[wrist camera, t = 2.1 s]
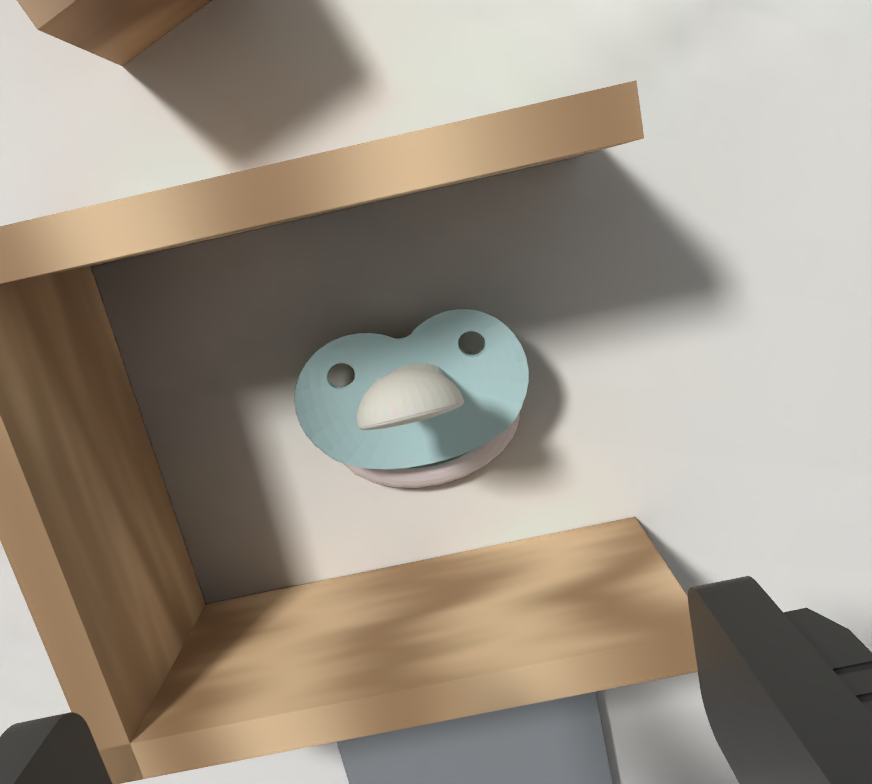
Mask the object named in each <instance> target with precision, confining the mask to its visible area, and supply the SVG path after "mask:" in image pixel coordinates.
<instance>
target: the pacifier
mask: <svg viewBox="0 0 872 784" xmlns="http://www.w3.org/2000/svg"><path fill="white" fill-rule="evenodd" d="M468 331H474V332H477V333H479V334H481V335H482V336H483V338H484V339H485V346H484V349H483V350H482V351H481V352H480V353H478V354H475V355H469V354H466V353H464V352H462V350H461V349H460V348H459V346H458V341H459V338H460V336H461V335H462V334H464V333H465V332H468ZM338 363H346V364H348V365H350V366H351V367H352V368H353V370H354V372H355V378H354V380H353V382H352V383H350V384H349V385H347V386H344V387H337V386H335V385H333V384H332V383H331V382H330V380H329V379H328V372H329V369H330V368H331V367H332V366H334V365H336V364H338ZM528 382H529V369H528V364H527V359H526V356H525V353H524V351H523V348H522V346H521V344H520V342H519V341H518V339H517V338H516V336H515V335H514V333H513V332H512V331H511V330H510V329H509V328H508V327H507V326H506V325H505V324H504V323H503V322H501V321H500V320H498V319H497V318H495V317H494V316H492V315H490V314H487V313H484V312H481V311H477V310H472V309H453V310H449V311H446V312H442V313H439V314H436V315H435V316H433V317H431V318H429V319H427V320H425V321H424V322H423V323H421V324H420V325H419V326H417V327H416V328H415V329H414V330H413V331H412V333H411V334H410V335H409V336H407V337H404V338H400V339H396V338H393V337H389V336H386V335H383V334H376V333H356V334H351V335H347V336H343V337H340V338H338V339H335V340H333V341H331V342H329V343H327V344H326V345H324V346H323V347H321V348H320V349H319V350H318V351H316V352H315V353H314V354H313V356H312V357H311V358H310V359H309V360H308V361H307V363H306V364H305V366H304V368H303V370H302V371H301V373H300V375H299V378H298V381H297V385H296V388H295V408H296V414H297V417H298V420H299V423H300V426H301V427H302V429H303V431H304V432H305V434H306V436H307V437H308V438H309V439H310V440H311V441H312V443H313V444H314V445H315V446H316V447H318V448H319V449H320V450H322V451H323V452H324V453H325V454H326V455H328V456H329V457H331V458H333V459H334V460H336V461H338V462H341V463H343V464H344V465H345V466H347V467H348V468H349V469H350V470H351V471H352V472H353V473H355V474H356V475H358V476H360V477H362V478H364V479H367V480H369V481H371V482H373V483H377V484H382V485H386V486H391V487H406V488H419V487H426V486H433V485H439V484H444V483H447V482H450V481H453V480H456V479H459V478H462V477H465V476H467V475H468V474H470V473H472V472H474V471H476V470H478V469H480V468H482V467H484V466H485V465H486V464H488V463H489V462H490V461H491V460H493V459H494V458H495V457H496V456H498V455H499V454H500V453H501V452H502V451H503V450H504V449H505V447H506V446H507V445H508V443H509V442H510V441H511V439H512V438H513V437H514V434H515V432H516V429H517V426H518V424H519V421H520V410H521V408H522V405H523V401H524V399H525V396H526V393H527V388H528Z"/></svg>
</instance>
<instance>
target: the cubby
mask: <svg viewBox="0 0 872 784" xmlns="http://www.w3.org/2000/svg"><path fill="white" fill-rule="evenodd" d="M643 138H644V135H643V127H642V120H641V112H640V105H639V97H638V90H637V82H636V81H632V82H628V83H623V84H619V85H614V86H610V87H606V88H601V89H597V90H593V91H588V92H584V93H580V94H575V95H571V96H567V97H562V98H558V99H554V100H549V101H545V102H540V103H536V104H532V105H527V106H523V107H519V108H514V109H510V110H506V111H501V112H497V113H493V114H488V115H484V116H480V117H475V118H471V119H466V120H462V121H458V122H453V123H449V124H445V125H440V126H436V127H432V128H427V129H423V130H419V131H414V132H410V133H405V134H401V135H397V136H392V137H388V138H384V139H379V140H375V141H371V142H366V143H362V144H358V145H353V146H349V147H345V148H340V149H336V150H331V151H327V152H323V153H318V154H314V155H310V156H305V157H301V158H297V159H292V160H288V161H284V162H279V163H275V164H271V165H266V166H262V167H257V168H253V169H249V170H244V171H240V172H236V173H231V174H227V175H223V176H218V177H214V178H210V179H205V180H201V181H196V182H192V183H188V184H183V185H179V186H175V187H170V188H166V189H162V190H157V191H153V192H149V193H144V194H140V195H136V196H131V197H127V198H122V199H118V200H114V201H109V202H105V203H101V204H96V205H92V206H88V207H83V208H79V209H75V210H70V211H66V212H62V213H57V214H53V215H48V216H44V217H40V218H35V219H31V220H27V221H22V222H18V223H14V224H9V225H5V226H1V227H0V541H1V543H2V545H3V548H4V550H5V553H6V555H7V557H8V560H9V562H10V565H11V567H12V569H13V572H14V574H15V577H16V579H17V582H18V584H19V586H20V589H21V591H22V594H23V596H24V598H25V601H26V603H27V606H28V608H29V610H30V613H31V615H32V618H33V620H34V623H35V625H36V627H37V630H38V632H39V635H40V637H41V639H42V642H43V644H44V647H45V649H46V652H47V654H48V656H49V659H50V661H51V664H52V666H53V668H54V671H55V673H56V676H57V678H58V680H59V683H60V685H61V688H62V690H63V693H64V695H65V697H66V700H67V702H68V705H69V707H70V709H71V712H73V713H77V714H79V715H80V716H82V717H83V718H84V720H85V721H86V723H87V725H88V727H89V729H90V731H91V734H92V736H93V738H94V741H95V743H96V746H97V748H98V750H99V753H100V755H101V758H102V760H103V762H104V765H105V767H106V770H107V772H108V774H109V777H110V779H111V782H112V784H120V783H126V782H131V781H136V780H141V779H146V778H151V777H157V776H162V775H167V774H172V773H177V772H182V771H188V770H193V769H198V768H203V767H208V766H213V765H218V764H224V763H229V762H234V761H239V760H244V759H249V758H255V757H260V756H265V755H270V754H275V753H280V752H286V751H291V750H296V749H301V748H306V747H311V746H317V745H322V744H327V743H332V742H337V741H342V740H348V739H353V738H358V737H363V736H368V735H373V734H379V733H384V732H389V731H394V730H399V729H404V728H410V727H415V726H420V725H425V724H430V723H435V722H441V721H446V720H451V719H456V718H461V717H466V716H471V715H477V714H482V713H487V712H492V711H497V710H502V709H508V708H513V707H518V706H523V705H528V704H533V703H539V702H544V701H549V700H554V699H559V698H564V697H570V696H575V695H580V694H585V693H590V692H595V691H601V690H606V689H611V688H616V687H621V686H626V685H632V684H637V683H642V682H647V681H652V680H657V679H663V678H668V677H673V676H678V675H683V674H688V673H694V672H698V669H697V662H696V655H695V648H694V641H693V634H692V627H691V620H690V613H689V606H688V596H687V595H686V593H685V592H684V590H683V589H682V587H681V586H680V584H679V583H678V581H677V580H676V578H675V577H674V575H673V574H672V572H671V571H670V569H669V567H668V566H667V564H666V563H665V561H664V560H663V558H662V557H661V555H660V554H659V552H658V551H657V549H656V548H655V546H654V545H653V543H652V542H651V540H650V539H649V537H648V536H647V534H646V533H645V531H644V529H643V528H642V526H641V525H640V523H639V522H638V520H637V519H636V517H632V518H627V519H622V520H617V521H612V522H608V523H603V524H598V525H593V526H588V527H583V528H578V529H573V530H568V531H563V532H558V533H554V534H549V535H544V536H539V537H534V538H529V539H524V540H519V541H514V542H509V543H504V544H500V545H495V546H490V547H485V548H480V549H475V550H470V551H465V552H460V553H455V554H450V555H446V556H441V557H436V558H431V559H426V560H421V561H416V562H411V563H406V564H401V565H396V566H391V567H387V568H382V569H377V570H372V571H367V572H362V573H357V574H352V575H347V576H342V577H337V578H333V579H328V580H323V581H318V582H313V583H308V584H303V585H298V586H293V587H288V588H283V589H279V590H274V591H269V592H264V593H259V594H254V595H249V596H244V597H239V598H234V599H229V600H225V601H220V602H215V603H210V604H205V601H204V598H203V595H202V592H201V589H200V587H199V584H198V581H197V578H196V575H195V572H194V569H193V566H192V563H191V560H190V557H189V554H188V551H187V548H186V545H185V542H184V540H183V537H182V534H181V531H180V528H179V525H178V522H177V519H176V516H175V513H174V510H173V507H172V504H171V501H170V498H169V496H168V493H167V490H166V487H165V484H164V481H163V478H162V475H161V472H160V469H159V466H158V463H157V460H156V457H155V454H154V451H153V449H152V446H151V443H150V440H149V437H148V434H147V431H146V428H145V425H144V422H143V419H142V416H141V413H140V410H139V407H138V404H137V402H136V399H135V396H134V393H133V390H132V387H131V384H130V381H129V378H128V375H127V372H126V369H125V366H124V363H123V360H122V358H121V355H120V352H119V349H118V346H117V343H116V340H115V337H114V334H113V331H112V328H111V325H110V322H109V319H108V316H107V313H106V311H105V308H104V305H103V302H102V299H101V296H100V293H99V290H98V287H97V284H96V281H95V278H94V275H93V272H92V269H91V266H95V265H99V264H103V263H108V262H112V261H117V260H121V259H125V258H130V257H134V256H139V255H143V254H148V253H152V252H156V251H161V250H165V249H170V248H174V247H179V246H183V245H187V244H192V243H196V242H201V241H205V240H210V239H214V238H218V237H223V236H227V235H232V234H236V233H241V232H245V231H249V230H254V229H258V228H263V227H267V226H272V225H276V224H280V223H285V222H289V221H294V220H298V219H303V218H307V217H311V216H316V215H320V214H325V213H329V212H334V211H338V210H342V209H347V208H351V207H356V206H360V205H364V204H369V203H373V202H378V201H382V200H387V199H391V198H395V197H400V196H404V195H409V194H413V193H418V192H422V191H426V190H431V189H435V188H440V187H444V186H449V185H453V184H457V183H462V182H466V181H471V180H475V179H480V178H484V177H488V176H493V175H497V174H502V173H506V172H511V171H515V170H519V169H524V168H528V167H533V166H537V165H542V164H546V163H550V162H555V161H559V160H564V159H568V158H573V157H577V156H581V155H584V154H588V153H592V152H595V151H599V150H603V149H606V148H610V147H614V146H617V145H621V144H624V143H628V142H632V141H635V140H639V139H643Z"/></svg>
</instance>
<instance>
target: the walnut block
mask: <svg viewBox="0 0 872 784" xmlns="http://www.w3.org/2000/svg"><path fill="white" fill-rule="evenodd" d="M17 1H18V3H19V4H20V5H21V7H22V8H23V10H24V11H25V12H26V14H27V15H28V17H29V18H30V19H31V21H32V22H33V24H34V25H35V27H36V28H37V29H38V30H40V31H42V32H45V33H47V34H49V35H52V36H54V37H56V38H59V39H61V40H63V41H65V42H68V43H70V44H72V45H75V46H77V47H79V48H82V49H84V50H86V51H89V52H91V53H93V54H96V55H98V56H100V57H102V58H105V59H107V60H109V61H112V62H114V63H116V64H119V65H121V66H123V65H124V64H125V63H127V62H128V61H129V60H131V59H132V58H134V57H135V56H136V55H138V54H139V53H140V52H142V51H143V50H145V49H146V48H147V47H149V46H150V45H151V44H153V43H154V42H155V41H157V40H158V39H160V38H161V37H162V36H164V35H165V34H166V33H168V32H169V31H171V30H172V29H173V28H175V27H176V26H177V25H179V24H180V23H181V22H183V21H184V20H186V19H187V18H188V17H190V16H191V15H192V14H194V13H195V12H197V11H198V10H199V9H201V8H202V7H203V6H205V5H206V4H208V3H209V2H210V1H212V0H17Z"/></svg>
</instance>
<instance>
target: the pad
mask: <svg viewBox="0 0 872 784" xmlns="http://www.w3.org/2000/svg"><path fill="white" fill-rule="evenodd" d="M337 745H338V748H339V751H340V754H341V758H342V761H343V764H344V768H345V771H346V774H347V777H348V781H349V784H613V783H612V778H611V773H610V767H609V762H608V757H607V751H606V746H605V740H604V735H603V730H602V724H601V719H600V714H599V708H598V703H597V697H596V692H590V693H585V694H580V695H575V696H570V697H564V698H559V699H554V700H549V701H544V702H539V703H533V704H528V705H523V706H518V707H513V708H508V709H502V710H497V711H492V712H487V713H482V714H477V715H471V716H466V717H461V718H456V719H451V720H446V721H441V722H435V723H430V724H425V725H420V726H415V727H410V728H404V729H399V730H394V731H389V732H384V733H379V734H373V735H368V736H363V737H358V738H353V739H348V740H342V741H337Z"/></svg>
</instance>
